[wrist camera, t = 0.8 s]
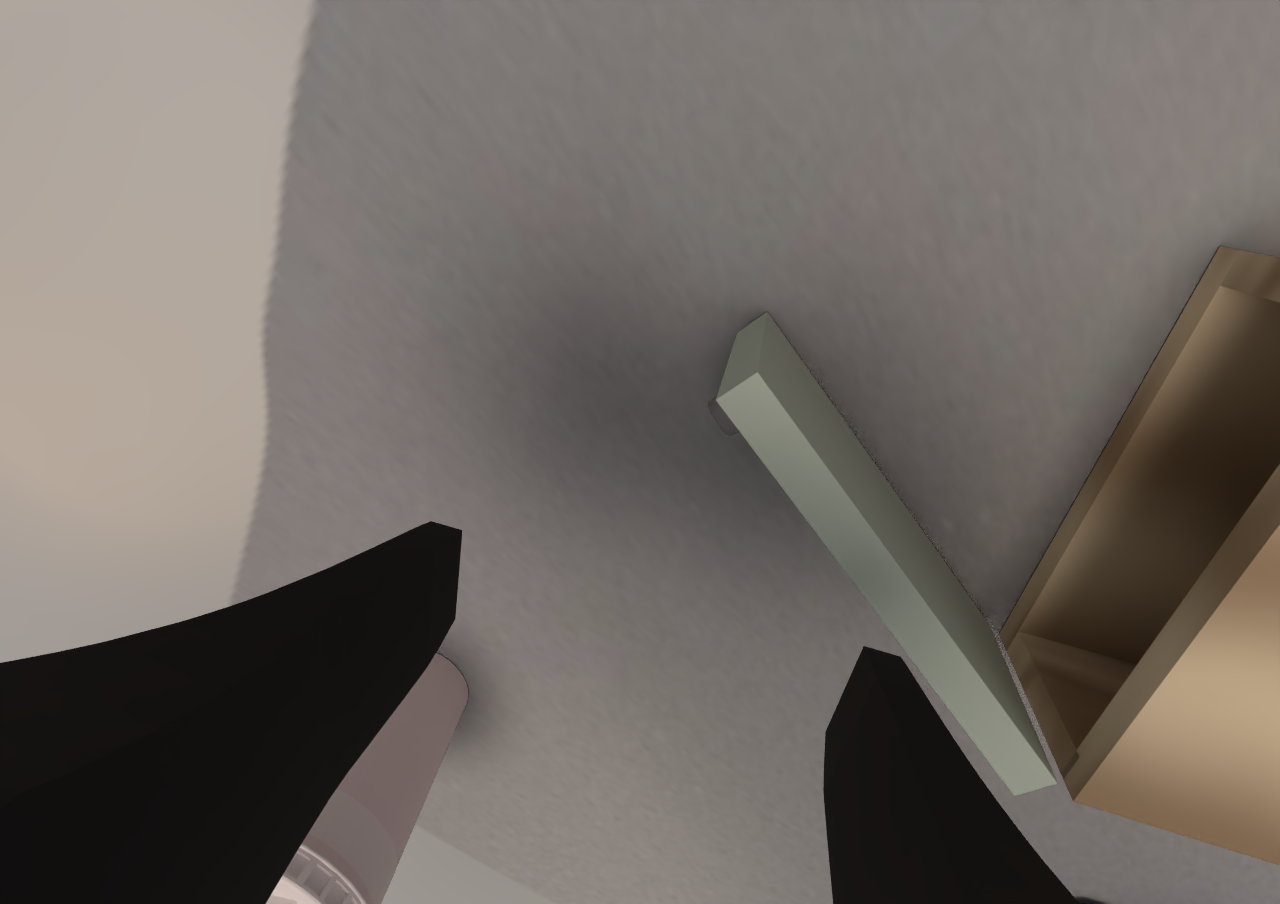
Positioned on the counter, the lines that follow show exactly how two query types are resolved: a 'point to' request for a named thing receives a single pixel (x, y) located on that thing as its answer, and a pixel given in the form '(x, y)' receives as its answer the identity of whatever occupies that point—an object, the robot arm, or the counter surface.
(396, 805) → the smoothie
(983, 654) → the door
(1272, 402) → the wooden box
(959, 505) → the counter surface
